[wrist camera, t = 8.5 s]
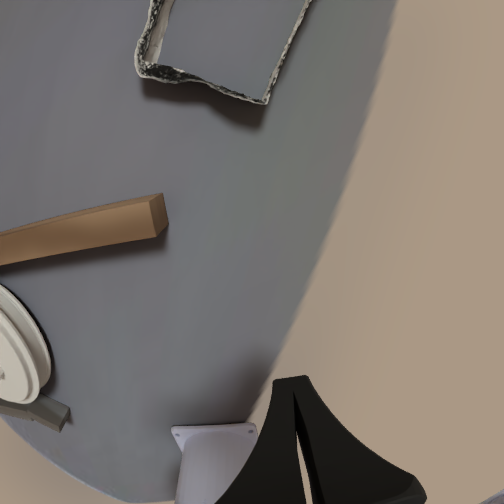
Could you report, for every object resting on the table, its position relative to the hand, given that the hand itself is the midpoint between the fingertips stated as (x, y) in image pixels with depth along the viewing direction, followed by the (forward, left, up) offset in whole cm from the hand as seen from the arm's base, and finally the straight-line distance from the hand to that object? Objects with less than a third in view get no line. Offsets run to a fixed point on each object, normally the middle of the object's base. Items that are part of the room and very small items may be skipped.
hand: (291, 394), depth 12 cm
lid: (-2, +26, -10) cm, 28 cm away
